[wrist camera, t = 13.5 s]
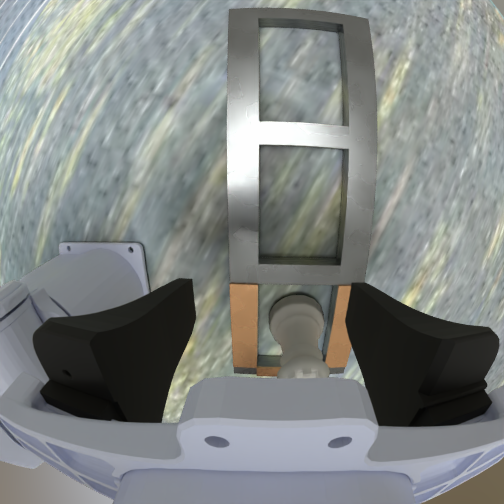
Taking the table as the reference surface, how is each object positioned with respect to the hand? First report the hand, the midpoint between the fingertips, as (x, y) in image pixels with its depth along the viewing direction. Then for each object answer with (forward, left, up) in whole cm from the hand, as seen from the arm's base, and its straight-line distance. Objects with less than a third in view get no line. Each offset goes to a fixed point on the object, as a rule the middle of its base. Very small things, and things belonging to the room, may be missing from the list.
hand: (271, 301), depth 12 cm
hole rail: (+2, +3, -8) cm, 9 cm away
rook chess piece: (+2, -6, -9) cm, 11 cm away
